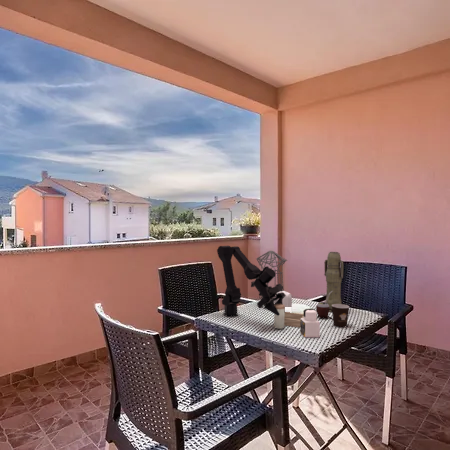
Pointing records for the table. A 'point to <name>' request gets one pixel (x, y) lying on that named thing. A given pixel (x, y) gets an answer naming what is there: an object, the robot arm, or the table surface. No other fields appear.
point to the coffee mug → (339, 314)
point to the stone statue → (333, 278)
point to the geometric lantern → (272, 264)
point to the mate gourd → (323, 309)
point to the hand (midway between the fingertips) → (281, 314)
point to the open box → (292, 319)
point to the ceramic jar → (279, 319)
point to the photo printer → (287, 299)
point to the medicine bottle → (310, 324)
